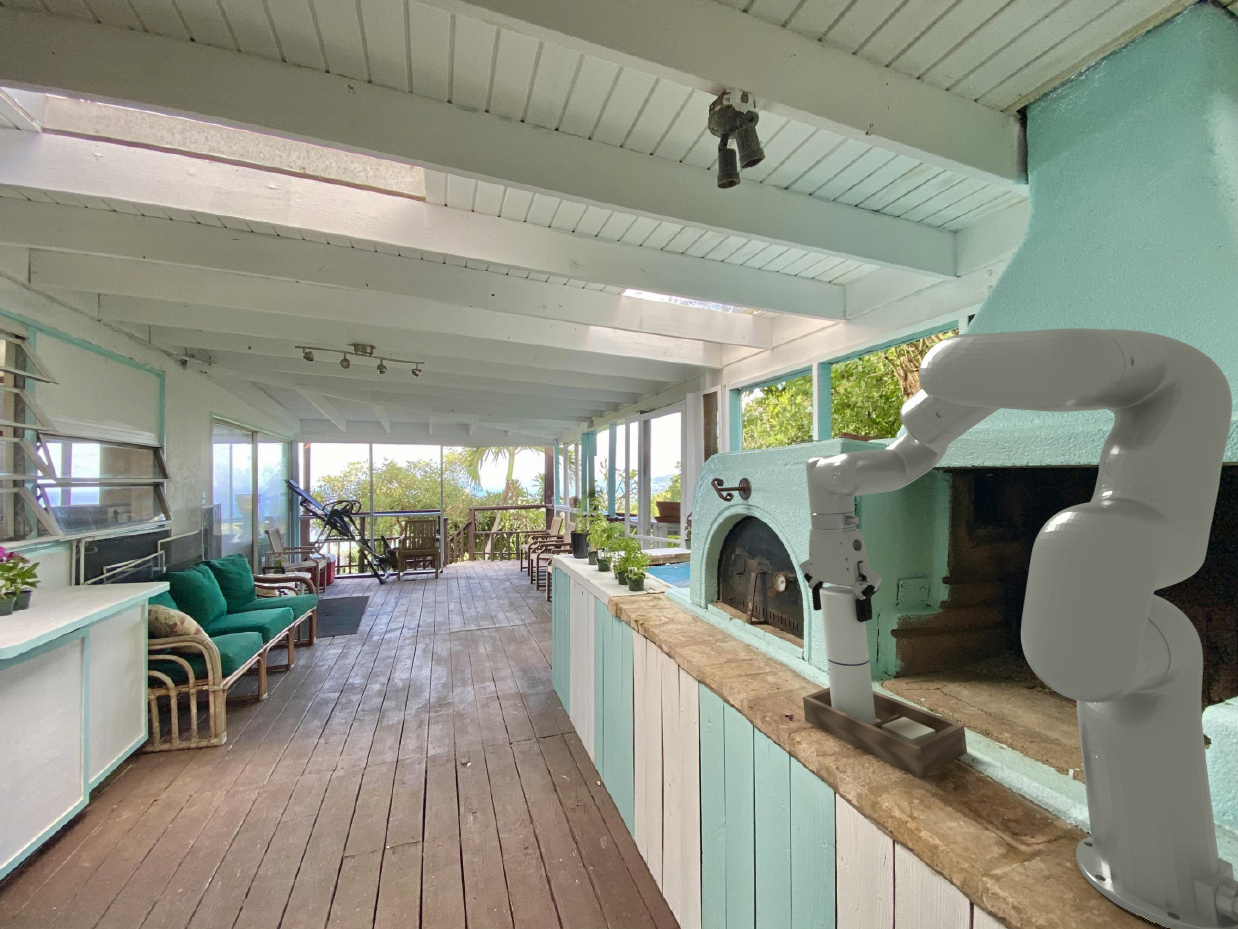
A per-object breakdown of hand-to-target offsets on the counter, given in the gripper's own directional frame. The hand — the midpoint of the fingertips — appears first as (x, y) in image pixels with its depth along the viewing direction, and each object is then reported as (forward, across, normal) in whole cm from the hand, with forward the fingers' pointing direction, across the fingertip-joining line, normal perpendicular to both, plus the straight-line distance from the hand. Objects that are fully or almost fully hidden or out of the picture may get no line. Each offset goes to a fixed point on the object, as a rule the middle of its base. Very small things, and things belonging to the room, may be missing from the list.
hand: (841, 614), depth 91 cm
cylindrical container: (+21, 0, 0) cm, 21 cm away
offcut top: (+18, -11, 0) cm, 21 cm away
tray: (+20, -6, 0) cm, 21 cm away
